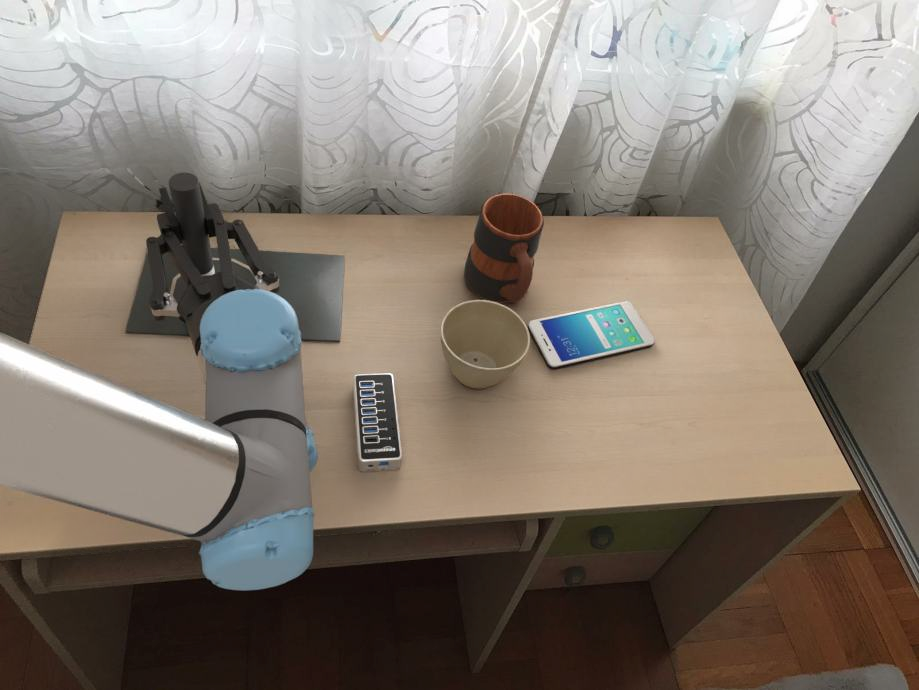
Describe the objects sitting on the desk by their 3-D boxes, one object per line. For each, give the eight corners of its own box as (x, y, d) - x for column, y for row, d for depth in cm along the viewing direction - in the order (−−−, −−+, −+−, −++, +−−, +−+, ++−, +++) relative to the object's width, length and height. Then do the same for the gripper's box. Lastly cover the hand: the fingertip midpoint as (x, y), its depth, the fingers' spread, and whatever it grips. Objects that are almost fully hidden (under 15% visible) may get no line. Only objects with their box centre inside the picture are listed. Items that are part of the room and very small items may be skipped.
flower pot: (503, 418, 84) (516, 382, 79) (421, 388, 85) (428, 350, 80) (527, 354, 90) (540, 316, 85) (450, 327, 91) (458, 288, 86)
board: (125, 333, 84) (124, 331, 84) (150, 245, 93) (149, 243, 93) (339, 342, 88) (339, 340, 87) (344, 256, 96) (344, 255, 96)
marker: (186, 281, 88) (166, 189, 77) (190, 263, 90) (171, 171, 79) (212, 283, 88) (196, 191, 77) (216, 264, 90) (200, 173, 79)
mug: (481, 330, 92) (498, 264, 83) (455, 261, 99) (468, 193, 89) (545, 321, 94) (569, 256, 85) (515, 254, 101) (534, 187, 92)
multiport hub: (391, 384, 85) (393, 372, 83) (400, 469, 78) (402, 459, 77) (352, 385, 84) (353, 373, 82) (358, 472, 78) (359, 461, 76)
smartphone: (657, 343, 93) (551, 367, 88) (655, 347, 94) (549, 371, 89) (629, 299, 97) (526, 320, 92) (627, 303, 98) (525, 325, 93)
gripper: (157, 390, 74) (114, 232, 86) (314, 347, 80) (253, 205, 92) (142, 343, 68) (98, 181, 80) (312, 301, 74) (247, 155, 86)
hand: (181, 194), depth 86 cm, fingers closed on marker, 3 cm apart
